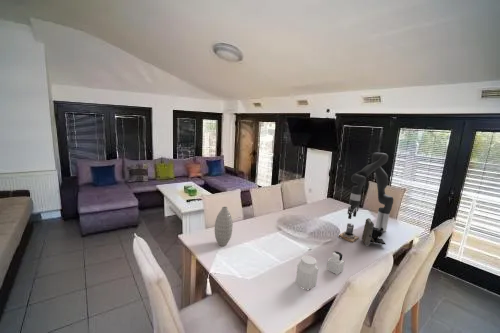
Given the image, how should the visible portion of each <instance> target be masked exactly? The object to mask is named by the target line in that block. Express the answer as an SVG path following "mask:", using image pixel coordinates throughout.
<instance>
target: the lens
mask: <svg viewBox="0 0 500 333" xmlns="http://www.w3.org/2000/svg"><path fill="white" fill-rule="evenodd" d="M345 231H346V234H347V235H349V236H352V234H353V233H354V224H353V223H351V222H350V223H347V224H346V230H345Z"/></svg>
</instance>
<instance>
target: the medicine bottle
mask: <svg viewBox="0 0 500 333" xmlns="http://www.w3.org/2000/svg"><path fill="white" fill-rule="evenodd" d="M343 256H344V255H343V253H342V252H340V251H336V250H334V251H332V252H331V257H330V258H328V260H327V261H328V262H327V268H326V269H327V270H328V271H329V270H330V271H329V272H331V271H332V272H331V273H333V274H334V273H335V275H336V274H337V275H339V274H341V273H343V271H344V265H345V261H344V260H343ZM340 272H341V273H340Z"/></svg>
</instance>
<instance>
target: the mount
mask: <svg viewBox="0 0 500 333" xmlns="http://www.w3.org/2000/svg"><path fill="white" fill-rule="evenodd" d="M338 235H339V234H338ZM338 238H341V239H343V240H345V241H348V242H349V243H352V244H353V243H354V242H356V241H358V240H359V239H360V237H359V236H357V235H355V233H354V232H353V234H352V236H349V235H347V234H346V230H345V231H343V232H342V233H340V235H339V237H338Z"/></svg>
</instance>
